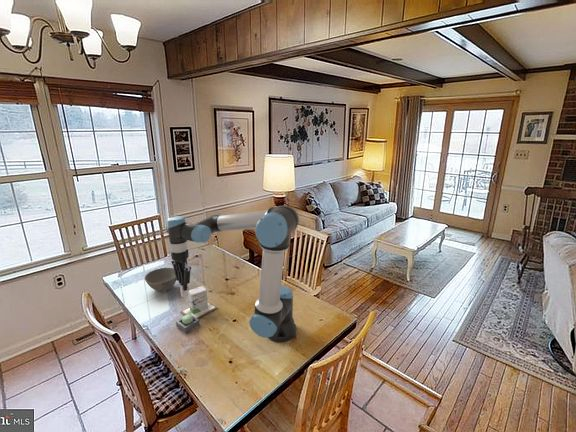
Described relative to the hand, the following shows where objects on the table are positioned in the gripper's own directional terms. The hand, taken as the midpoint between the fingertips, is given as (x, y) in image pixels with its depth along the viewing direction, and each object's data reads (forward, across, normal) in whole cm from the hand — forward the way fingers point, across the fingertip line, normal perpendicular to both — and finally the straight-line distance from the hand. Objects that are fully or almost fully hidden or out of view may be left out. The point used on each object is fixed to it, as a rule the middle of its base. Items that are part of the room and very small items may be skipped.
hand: (184, 295), depth 142 cm
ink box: (+17, +6, -11) cm, 21 cm away
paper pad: (+17, +6, -11) cm, 21 cm away
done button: (+16, 0, 0) cm, 16 cm away
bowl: (+18, +41, -10) cm, 46 cm away
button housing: (+17, 0, 0) cm, 17 cm away
